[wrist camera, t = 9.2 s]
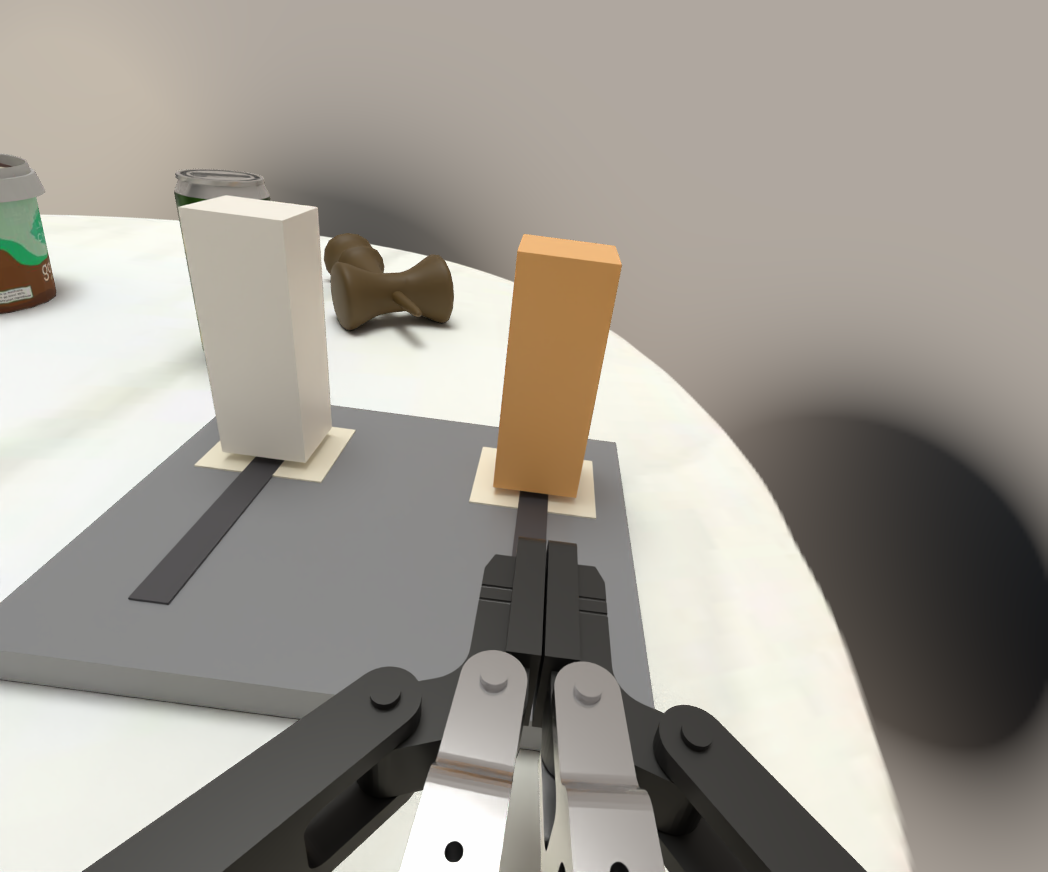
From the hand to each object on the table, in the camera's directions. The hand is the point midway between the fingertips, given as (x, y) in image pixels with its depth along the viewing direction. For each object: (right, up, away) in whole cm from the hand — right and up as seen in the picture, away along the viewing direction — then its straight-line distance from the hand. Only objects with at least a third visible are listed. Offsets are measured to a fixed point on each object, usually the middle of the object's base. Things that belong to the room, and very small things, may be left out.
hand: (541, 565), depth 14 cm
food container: (-41, +15, +32) cm, 55 cm away
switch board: (-7, -1, +12) cm, 14 cm away
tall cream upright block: (-13, +3, +14) cm, 19 cm away
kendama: (-14, +15, +39) cm, 44 cm away
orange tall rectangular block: (0, +1, +14) cm, 14 cm away
